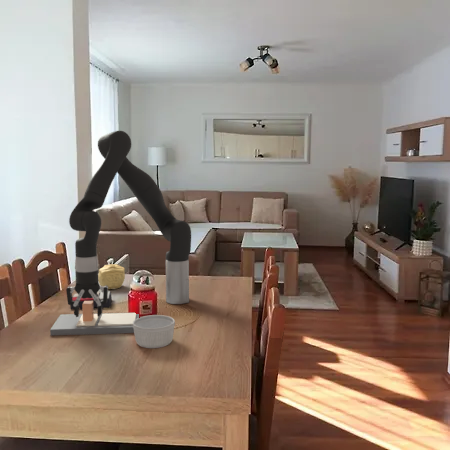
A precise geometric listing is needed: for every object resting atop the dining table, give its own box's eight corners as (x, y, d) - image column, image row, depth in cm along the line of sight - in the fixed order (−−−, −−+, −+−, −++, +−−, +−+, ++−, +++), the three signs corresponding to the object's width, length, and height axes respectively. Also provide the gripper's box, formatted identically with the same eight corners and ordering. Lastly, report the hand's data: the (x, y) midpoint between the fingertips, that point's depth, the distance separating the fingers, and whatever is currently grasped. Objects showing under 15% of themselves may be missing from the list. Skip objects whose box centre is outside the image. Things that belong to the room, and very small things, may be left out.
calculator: (73, 292, 206) (111, 289, 209) (74, 303, 207) (111, 299, 209) (69, 300, 195) (109, 297, 198) (70, 311, 196) (110, 307, 198)
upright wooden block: (99, 314, 182) (99, 297, 181) (94, 325, 170) (94, 307, 170) (82, 315, 182) (81, 297, 181) (76, 326, 170) (75, 307, 169)
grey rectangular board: (139, 317, 186) (139, 311, 186) (136, 332, 170) (136, 325, 170) (60, 319, 183) (60, 313, 183) (50, 335, 167) (50, 328, 167)
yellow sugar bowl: (100, 292, 220) (100, 267, 219) (96, 285, 231) (95, 262, 230) (127, 289, 225) (126, 265, 223) (121, 283, 235) (121, 260, 234)
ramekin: (140, 353, 153) (140, 330, 152) (127, 339, 165) (127, 318, 164) (181, 345, 159) (181, 324, 158) (166, 332, 171) (166, 312, 170)
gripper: (109, 266, 178) (110, 312, 180) (67, 266, 177) (69, 313, 179) (106, 270, 171) (108, 318, 173) (62, 271, 169) (64, 320, 171)
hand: (88, 315), depth 176 cm, fingers open, 6 cm apart
